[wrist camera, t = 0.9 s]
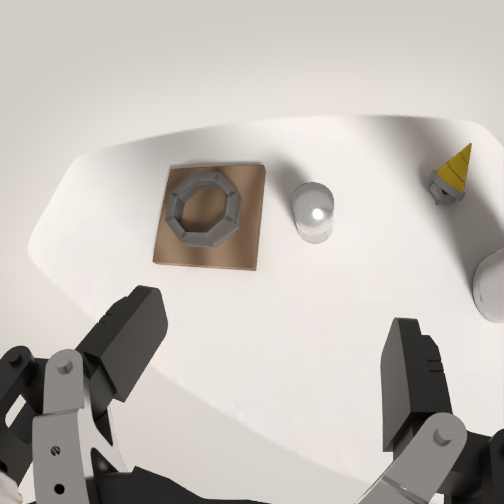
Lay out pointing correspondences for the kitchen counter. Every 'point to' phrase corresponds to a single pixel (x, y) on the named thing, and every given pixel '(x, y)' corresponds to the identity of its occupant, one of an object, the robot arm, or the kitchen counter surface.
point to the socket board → (211, 217)
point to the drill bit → (451, 178)
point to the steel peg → (313, 211)
